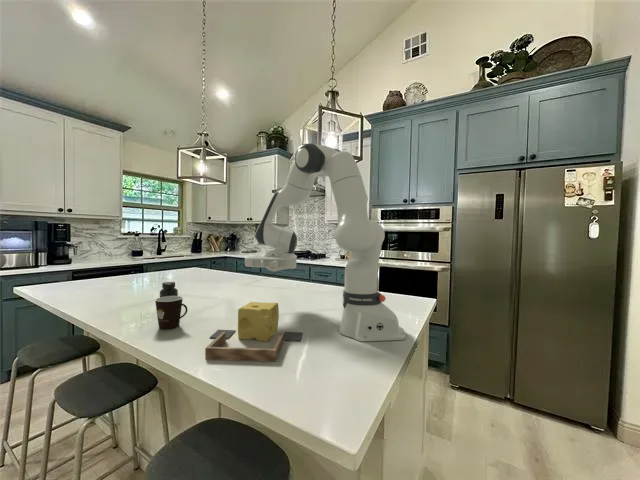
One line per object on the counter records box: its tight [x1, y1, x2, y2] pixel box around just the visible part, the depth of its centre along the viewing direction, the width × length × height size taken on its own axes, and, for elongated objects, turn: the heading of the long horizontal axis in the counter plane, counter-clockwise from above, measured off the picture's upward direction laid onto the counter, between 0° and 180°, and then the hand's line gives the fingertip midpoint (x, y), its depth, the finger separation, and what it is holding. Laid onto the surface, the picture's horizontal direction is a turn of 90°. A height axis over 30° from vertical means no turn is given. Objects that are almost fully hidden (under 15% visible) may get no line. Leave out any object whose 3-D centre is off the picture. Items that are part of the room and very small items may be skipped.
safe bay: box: [204, 332, 284, 363], centre depth 84 cm, size 19×12×3 cm, turn 88°
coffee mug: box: [154, 295, 188, 331], centre depth 102 cm, size 12×9×10 cm
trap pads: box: [209, 329, 304, 342], centre depth 96 cm, size 29×7×1 cm, turn 88°
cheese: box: [237, 301, 280, 343], centre depth 97 cm, size 10×11×10 cm
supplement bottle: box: [159, 281, 179, 298], centre depth 122 cm, size 7×7×12 cm
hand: (267, 264), depth 108 cm, fingers closed
